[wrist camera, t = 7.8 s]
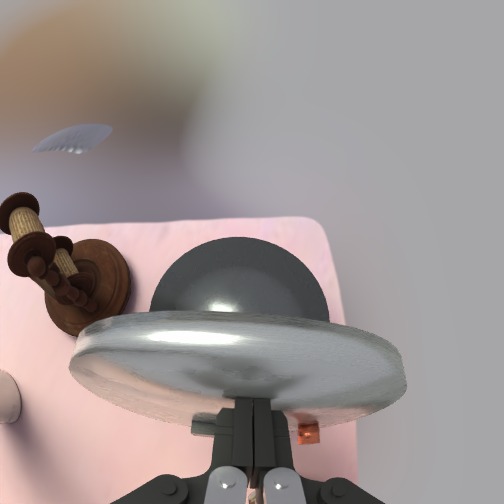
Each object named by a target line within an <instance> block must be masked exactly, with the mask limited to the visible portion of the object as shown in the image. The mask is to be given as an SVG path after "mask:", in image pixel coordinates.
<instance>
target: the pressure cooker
mask: <svg viewBox="0 0 504 504" xmlns="http://www.w3.org/2000/svg"><path fill="white" fill-rule="evenodd" d="M203 310H206V311H226V312H249V313H259V314H270V315H282V316H291V317H298V318H305V319H312V320H320V321H326V322H329V311H328V307H327V303H326V299H325V296H324V294H323V291H322V289H321V287H320V285H319V283H318V281H317V280H316V278H315V277H314V275H313V274H312V273H311V271H310V270H309V269H308V268H307V267H306V266H305V265H304V263H302V262H301V261H300V260H299V259H298V258H297V257H296V256H294V255H293V254H291V253H290V252H288V251H287V250H285V249H283V248H281V247H279V246H277V245H275V244H272V243H270V242H267V241H263V240H259V239H255V238H248V237H229V238H221V239H217V240H212V241H209V242H207V243H204V244H201V245H199V246H197V247H195V248H193V249H191V250H190V251H188V252H187V253H185V254H184V255H182V256H181V257H180V258H179V259H178V260H176V261H175V262H174V263H173V264H172V265H171V267H170V268H169V269H168V270H167V271H166V273H165V274H164V275H163V277H162V278H161V280H160V282H159V284H158V286H157V287H156V290H155V292H154V295H153V298H152V301H151V306H150V310H149V312H155V311H203Z"/></svg>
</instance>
